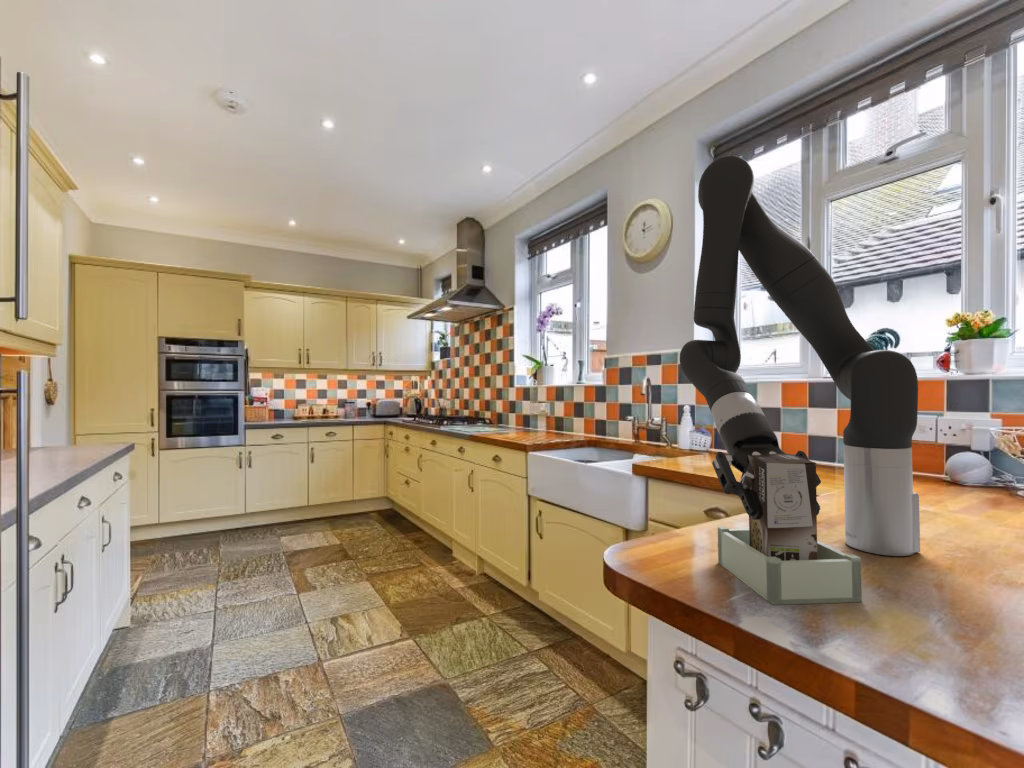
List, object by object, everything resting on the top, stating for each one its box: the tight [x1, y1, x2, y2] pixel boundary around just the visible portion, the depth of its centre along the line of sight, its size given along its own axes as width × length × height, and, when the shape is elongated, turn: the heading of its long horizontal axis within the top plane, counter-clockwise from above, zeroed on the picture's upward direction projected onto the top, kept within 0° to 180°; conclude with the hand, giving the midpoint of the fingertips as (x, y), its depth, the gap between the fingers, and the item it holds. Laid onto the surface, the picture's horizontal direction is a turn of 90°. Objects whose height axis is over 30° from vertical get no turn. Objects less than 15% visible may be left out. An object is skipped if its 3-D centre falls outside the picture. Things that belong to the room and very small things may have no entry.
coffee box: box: [748, 453, 818, 561], centre depth 68 cm, size 9×6×16 cm
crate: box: [717, 526, 863, 606], centre depth 68 cm, size 12×15×6 cm
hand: (786, 516), depth 67 cm, fingers closed on coffee box, 7 cm apart
